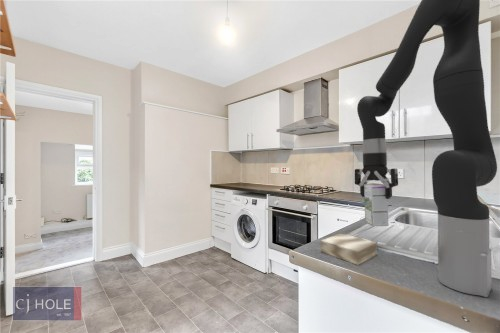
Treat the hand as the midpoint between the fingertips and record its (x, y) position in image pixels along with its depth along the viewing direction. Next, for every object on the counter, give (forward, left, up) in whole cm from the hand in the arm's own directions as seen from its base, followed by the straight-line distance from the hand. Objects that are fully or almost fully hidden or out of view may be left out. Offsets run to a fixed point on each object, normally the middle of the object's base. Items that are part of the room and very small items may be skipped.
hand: (375, 197), depth 81 cm
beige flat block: (+3, +13, -18) cm, 22 cm away
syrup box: (0, 0, -10) cm, 10 cm away
